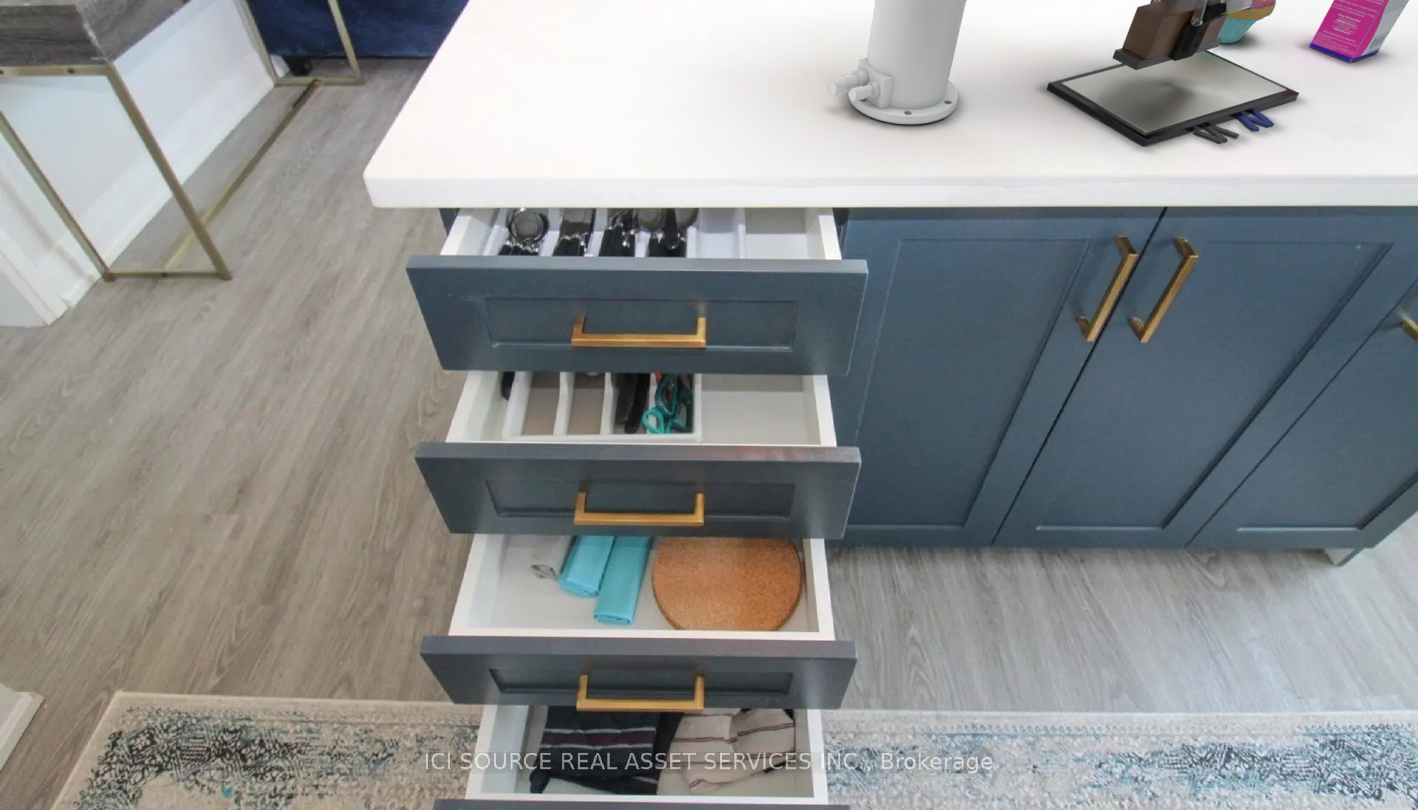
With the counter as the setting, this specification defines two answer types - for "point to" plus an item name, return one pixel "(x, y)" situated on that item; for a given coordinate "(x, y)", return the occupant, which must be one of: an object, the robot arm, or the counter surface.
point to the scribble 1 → (1216, 134)
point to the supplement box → (1356, 27)
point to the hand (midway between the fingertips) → (1166, 49)
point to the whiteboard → (1171, 96)
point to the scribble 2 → (1255, 120)
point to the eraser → (1162, 33)
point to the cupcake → (1244, 20)
